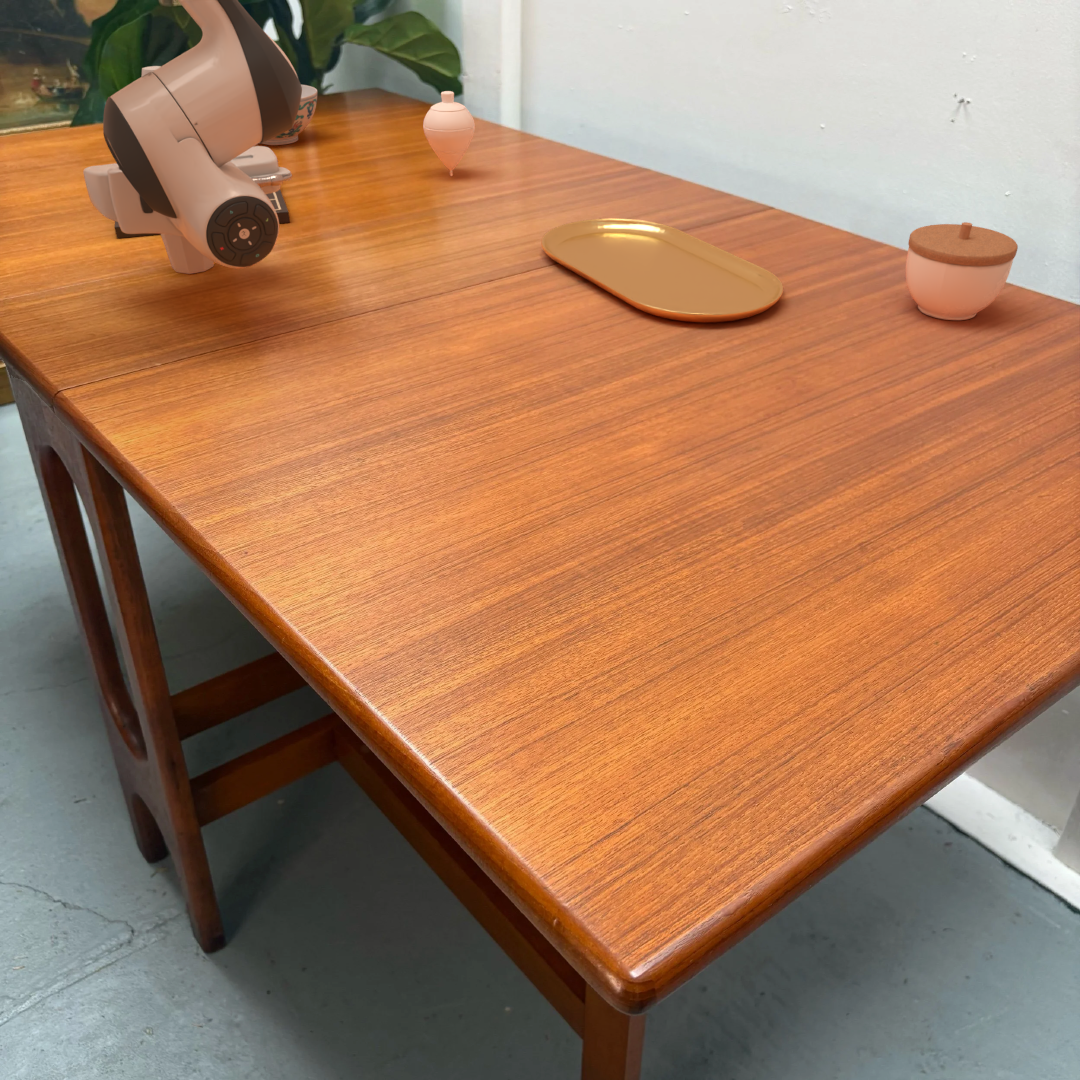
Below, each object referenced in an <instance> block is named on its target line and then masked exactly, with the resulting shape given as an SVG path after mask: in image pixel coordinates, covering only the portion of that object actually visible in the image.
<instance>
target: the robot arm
mask: <svg viewBox="0 0 1080 1080" xmlns="http://www.w3.org/2000/svg"><path fill="white" fill-rule="evenodd" d="M177 1H178V2H179V4H180V5H181V6H182V7H183V8H184V10H185V11H186V12H187V14H188V15H189V16H190V17H191V18H192V20H193V21H194V22H195V23H196V25H197V26H198V27H199V28H200V29H201V32H202V36H201V39H200V41H199V42H198V43H197V44H196V45H194V46H193V47H191V48H190V49H188V50H186V51H184V52H182V53H181V54H180V55H178V56H176V57H175V58H173V59H171V60H169V61H168V62H166V63H165V64H162V65H160V66H161V67H159V68H158V69H156V70H154V71H153V72H149V73H147V74H145V75H144V76H142V75H141V76H142V77H139V78H137V79H136V80H133V81H132V82H131V83H129V84H127V85H126V86H124V87H122V88H121V89H119V90H118V91H116V92H114V93H113V94H112V95H110V96H108V97H107V99H106V101H105V105H104V108H103V119H102V120H103V121H102V122H103V123H102V127H103V139H104V140H105V143H106V146H107V148H108V150H109V152H110V154H111V156H112V157H113V159H114V161H115V162H114V163H108V164H107V163H106V164H100V165H91V166H87V167H85V168H84V169H83V171H82V172H83V173H82V174H83V179H84V182H85V187H86V191H87V194H88V197H89V201H90V203H91V205H93V207H94V208H95V209H96V211H98V212H99V214H101V215H102V216H103V217H105V218H106V219H108V220H111V221H113V222H115V221H117V222H118V223H119V226H120V229H121V231H122V232H124V233H126V234H160V235H161V234H170V235H177V236H183V237H185V238H186V239H187V240H188V241H189V243H190V244H191V245H192V246H193V247H195V248H196V249H197V250H198V251H199V252H200V253H201V254H203V255H204V256H205V257H207V258H208V259H210V260H212V261H213V262H214V263H216V264H217V265H218V266H219V265H220V266H222V267H225V268H230V269H244V268H249V267H252V266H255V265H257V264H259V263H260V262H261V261H263V260H264V259H266V257H267V256H269V255H270V254H271V252H272V251H273V250H274V248H275V246H276V243H277V241H278V238H279V235H280V234H279V233H280V224H279V220H278V216H277V213H276V211H275V209H274V206H273V205H272V203H271V201H270V200H269V198H268V197H267V195H266V194H269V193H273V192H276V191H278V190H279V189H280V190H281V188H282V185H284V182H288V181H292V179H293V174H292V171H291V170H289V169H288V168H286V167H283V166H279V161H278V156H277V155H276V153H275V152H274V151H273V150H272V149H271V148H270V147H269V146H264V145H262V144H261V143H263V142H265V141H267V140H270V139H272V138H274V137H276V136H278V135H280V134H282V133H284V132H286V131H288V130H290V129H291V128H292V126H293V124H294V122H295V119H296V116H297V113H298V110H299V106H300V101H301V94H302V87H301V85H302V84H301V82H300V79H299V76H298V74H297V71H296V70H295V67H294V66H293V64H292V63H291V61H290V59H289V57H288V56H287V55H286V53H285V51H283V49H282V48H281V47H280V46H279V44H277V43H276V41H275V40H273V39H272V37H271V36H270V35H269V34H267V32H265V31H264V30H263V28H262V27H261V26H260V25H259V24H258V22H256V20H255V19H254V18H253V17H252V16H251V15H250V13H249V12H248V11H247V10H246V9H245V7H244V6H243V5H242V4H241V2H240V1H239V0H177ZM258 144H261V145H258Z"/></svg>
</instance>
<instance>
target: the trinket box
mask: <svg viewBox="0 0 1080 1080" xmlns="http://www.w3.org/2000/svg"><path fill="white" fill-rule="evenodd" d="M907 245H908V249H907V254H906V260H905V271H904V272H905V283H906V288H907V290H908V293H909V295H910V296H911V298H912V300H913V301H914V302H915V304H916V305H917V309H918V311H920V312H921V313H922V314H924V315H927V316H929V317H931V318H936V319H939V320H946V321H966V320H969V319H973V318H975V317H976V315H977V314H978V313H979V312H981V311H983V310H984V309H986V308H988V307H989V306H990V305H991V304H992V303H993V302H994V301H995V300H996V299H997V298H998V296H999V295H1000V294H1001V292H1002V291H1003V288H1004V286H1005V285H1006V282H1007V280H1008V278H1009V275H1010V273H1011V270H1012V266H1013V262H1014V259H1015V257H1016V255H1017V252H1018V247H1019V246H1018V243H1017V241H1015V240H1014V238H1012V237H1010V236H1009V235H1006V234H1005V233H1002V232H999V231H997V230H993V229H991V228H990V229H989V228H986V227H980V226H975V225H973V223H971V222H967V221H965V222H961V224H954V223H943V224H942V223H939V224H930V225H924V226H920V227H918V228H916V229H914V230H912V231H911V233H910V234H909V238H908V243H907Z"/></svg>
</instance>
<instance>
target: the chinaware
mask: <svg viewBox="0 0 1080 1080" xmlns="http://www.w3.org/2000/svg"><path fill="white" fill-rule="evenodd" d="M301 87H302V94H301V101H300V106H299V110H298V113H297V116H296V119H295V122H294V124H293V126H292V128H291V129H290V130H288V131H286V132H284V133H282V134H280V135H278V136H276V137H274V138H272V139H270V140H267V141H265V142H263V143H261V145H267V146H284V145H290V144H294V143H296V142H297V141H299V134H301V133H302V132H303V131H305V129H306V128H307V127H308V125H309V124H310V122H311V121H312V119H313V117H314V115H315V111H316V109H317V104H318V103H317V102H318V89H317V88H315V87H314V86H311V85H307V84H301Z"/></svg>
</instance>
